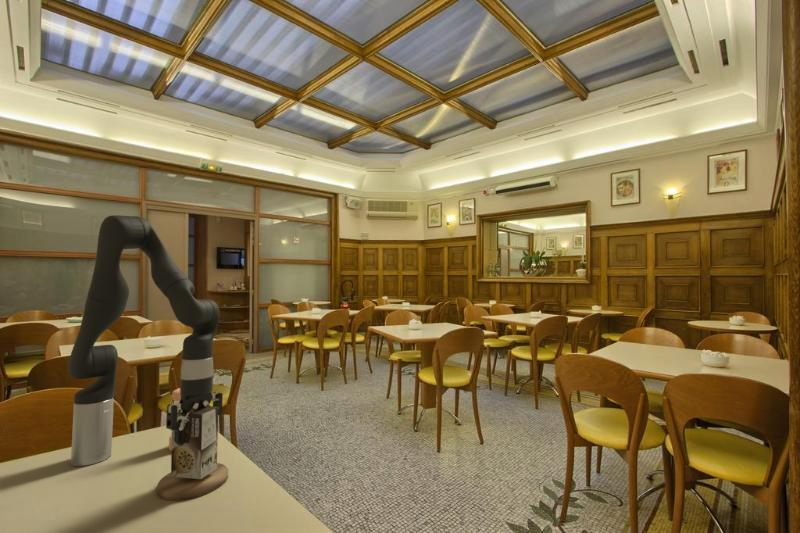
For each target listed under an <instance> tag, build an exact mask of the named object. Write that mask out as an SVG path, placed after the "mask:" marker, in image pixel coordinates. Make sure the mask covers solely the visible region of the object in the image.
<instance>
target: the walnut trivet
mask: <svg viewBox="0 0 800 533" xmlns="http://www.w3.org/2000/svg"><path fill="white" fill-rule="evenodd" d="M228 479H229V468H228V467H227V466H226V465H225V464H223V463H219V462H217V469H215V470H214V471H212V472H211V473H209V474H208V475H206V476H205V477H203V478H202V479H192V478H182V477H172V476H171V472H169V473H167V474H166V475H164V476H163V477H162V478H161V479H159V481H158V483H157V487H156V490H157V491H156V492H157V493H156V494H157V495H158V497H159V498H161V499H164V500H165V501H185V500H192V499H196V498H199V497H202V496H205V495H209V493H210V494H211V493H212V492H214V491H216V490H218V489H219V488H220V487H223V486H224V485H225V483H227V480H228Z"/></svg>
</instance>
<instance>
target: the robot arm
mask: <svg viewBox="0 0 800 533" xmlns="http://www.w3.org/2000/svg"><path fill="white" fill-rule="evenodd" d="M134 249H136V250H137V249H138V250H141V251H142V252H143V253H144V254H145V256H147V257H148V258H149V261H150V273H151V278H152V280H153V283H154V284H155V286H156V287H157V288H158V289H159V290H160V292H161V293H162V294H163V295H164V296H165V298H167V300H168V302H169V305H170V307H171V309H172V312H173V314H174V316H175V318H176V319H177V321H178V322H180V323H181V324H182V325H184V326H186V327H190V328H193V330H192V333H191V334H190V335H187V336H186V337H185V338H184V340H183V342H182V360H181V366H180V387H179V388H180V395H181V400H180V402H179V403H177V404H174V403H173V404H171V403H169V404H167V406H166V418H165V419H166V420H165V421H166V426H165V428H166V429H168V430H170V431H171V430H174V442H175V443H176V444H177V445H183V444H184V430H183V429H184V427H185V425H186V423H187V422H188V421H189V416H190V414H191V413H194V411H197V410H199V409H202V408H208V407H211V406H215V407H218V416H222V414H223V399H224V398H223V395H224V393H222V392H218V391H215V392H213V390H214V389H213V387H214V386H213V385H214V359H213V354H214V352H213V351H214V338H215V336H216V333H217V329H218V325H219V322H220V308H219V306H218V304H217V302H215V301H214V300H212V299H209V298H207V299H206V298H204V299H200V298H199V299H196V298H195V297H194V296H193V295H194V294H195V291H196V287H195V285H194V284H193V281H191V280H190V278H188V276H187V275H186V274H185V273H184V272H183V270H181V269H180V267H179V266H178V265H177V264H176V262H175V261H174V259H173V258H172V257H171V254H170V253H169V251H168V249H167V247H166V246H165V244H164V243H163V241H162V240H161V238H160V237H159V235H158V233H157V231H156V230H155V228H154V227H153V225H152V224H151V222H149V220H148V219H146V218H145V217H143V216H137V215H136V216H135V215H118V214H117V215H115V214H114V215H113V214H112V215H108V216H107V217H105V218H103V221H102V222H101V224H100V227H99V232H98V238H97V247H96V256H95V263H94V267H93V273H92V277H91V282H90V286H89V288H88V293H87V296H86V298H85V299H86V300H85V304H84V310H83V315H82V318H81V324H80V326H79V331H78V333H77V336H76V338H75V341H74V343H73V346H72V350H71V352H70V356H69V360H68V366H67V368H68V369H67V370H68V375H69V377H70V378H72V379H73V380H85V379H91V378H97V379H96V380H95V381H94V382H93V383H91V384H90V385H88V386H87V387H84V388H82V389H80V390H79V391H77V392H75V393H74V396H73V414H72V415H73V418H72V433H71V434H72V436H71V438H72V439H71V453H70V465H71V466H72V467H73V466H74V467H83V466H89V465H94V464H97V463H101V462H103V461H106V460H107V459H109V458H110V457H111V456H112V446H113V443H112V442H113V427H114V426H113V424H114V423H113V422H114V405H115V404H114V400H115V397H114V396H115V390H116V383H117V382H116V380H117V370H118V362H119V361H118V360H119V355H118V349H117V348H116V346H115V345H114V344H102V345H95V343H96V342H97V340H99V337H101V335H103V333H105V332H106V331H107V330H108V329H110V327H112V326H113V325H114V324H115V323H116V322H117V321H118V320H119V319H120V318H121V317H122V316H123V314H124V312H125V311H126V307H127V304H128V300H129V296H130V288H129V285H128V283H127V281H126V279H125V277H124V275H123V273H122V271H121V269H120V268H121V267H120V264H121V257H122V253H123V252H124V250H134ZM212 392H213V393H212ZM211 403H212V405H210V404H211ZM179 408H181V409H182V410H181V413H182V412H184V413H187V415H186V416H185V417H184V416H179V417H177V412H179ZM177 418H178V419H177ZM181 419H182V422H181V423H180V421H181ZM110 455H111V456H110ZM109 456H110V457H109ZM108 457H109V458H108Z"/></svg>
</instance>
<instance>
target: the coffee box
mask: <svg viewBox="0 0 800 533" xmlns="http://www.w3.org/2000/svg"><path fill="white" fill-rule="evenodd" d="M210 406H211V407H208V408H202V409H199V410H197V411H194V413H191V414H190V416H189V421H188V422H187V423H186V425H185V427H184V429H183V430H184V444H183V445H177V444H176V443H175V442H174V430H172V451H171V454H170V456H171V457H170V458H171V459H170V473H171V476H172V477H182V478H192V479H202V478H203V477H205V476H206V475H208V474H209V473H211V472H212V471H214V470H215V469H217V463H218V437H219V436H218V435H219V434H218V433H219V430H218V429H219V415H218V407H215V406H213V405H210ZM181 410H182V409H180V410H179V412H177V417H179V416H184V417H185V416H186V415H187V413H184V412H182V413H181ZM177 419H178V418H177ZM181 422H182V419H181V421H180V423H181Z"/></svg>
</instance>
